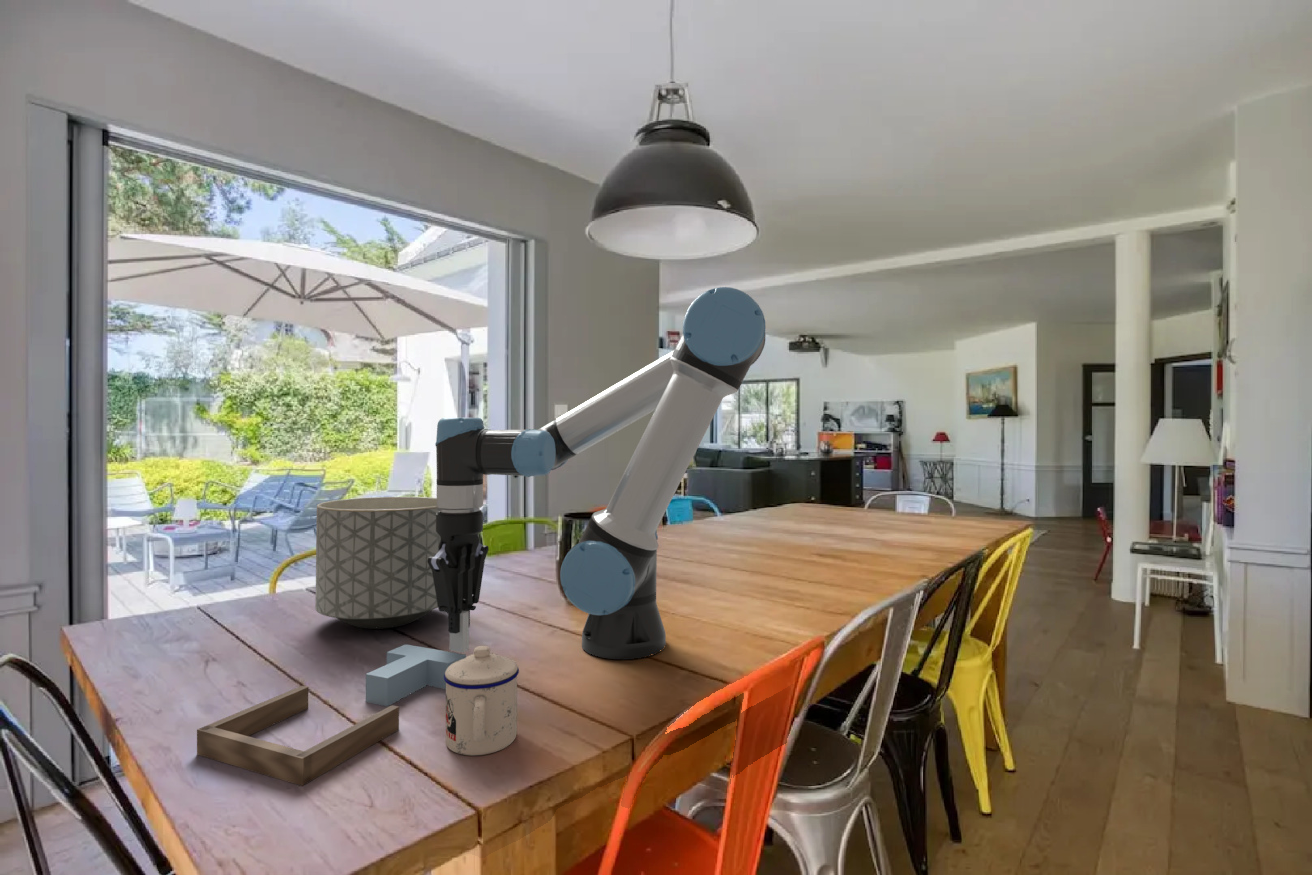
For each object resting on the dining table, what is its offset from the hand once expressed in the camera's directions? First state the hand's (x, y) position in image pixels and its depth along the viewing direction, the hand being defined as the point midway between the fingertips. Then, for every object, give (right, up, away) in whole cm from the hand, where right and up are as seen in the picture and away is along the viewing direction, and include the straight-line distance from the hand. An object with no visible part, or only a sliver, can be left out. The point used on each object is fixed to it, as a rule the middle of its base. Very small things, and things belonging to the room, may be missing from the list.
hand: (459, 649), depth 108 cm
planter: (-21, -2, +22) cm, 31 cm away
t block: (-4, -2, -11) cm, 12 cm away
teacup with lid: (+11, -3, -28) cm, 30 cm away
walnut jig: (-11, -2, -28) cm, 30 cm away
